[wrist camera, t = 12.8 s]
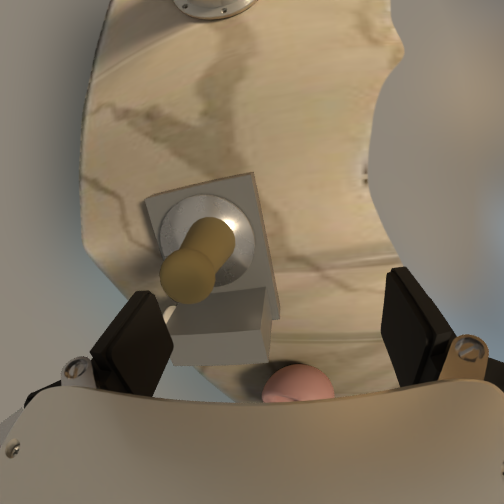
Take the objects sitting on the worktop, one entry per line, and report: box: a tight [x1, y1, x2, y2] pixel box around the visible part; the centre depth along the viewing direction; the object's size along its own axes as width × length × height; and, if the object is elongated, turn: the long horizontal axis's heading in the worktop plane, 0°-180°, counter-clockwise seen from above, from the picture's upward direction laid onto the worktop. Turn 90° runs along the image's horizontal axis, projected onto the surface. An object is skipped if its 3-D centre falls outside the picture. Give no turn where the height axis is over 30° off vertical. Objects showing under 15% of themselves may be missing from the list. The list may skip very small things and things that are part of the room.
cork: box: [160, 217, 235, 304], centre depth 29 cm, size 6×6×11 cm
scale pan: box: [160, 194, 255, 287], centre depth 34 cm, size 12×12×1 cm
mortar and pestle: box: [262, 364, 334, 403], centre depth 41 cm, size 12×12×12 cm
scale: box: [145, 172, 280, 366], centre depth 33 cm, size 20×14×12 cm
